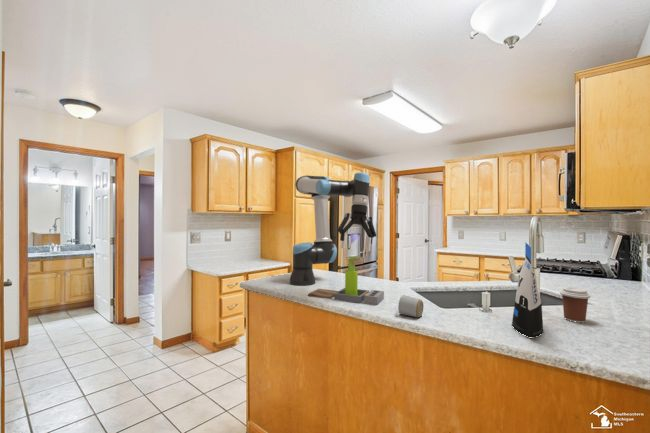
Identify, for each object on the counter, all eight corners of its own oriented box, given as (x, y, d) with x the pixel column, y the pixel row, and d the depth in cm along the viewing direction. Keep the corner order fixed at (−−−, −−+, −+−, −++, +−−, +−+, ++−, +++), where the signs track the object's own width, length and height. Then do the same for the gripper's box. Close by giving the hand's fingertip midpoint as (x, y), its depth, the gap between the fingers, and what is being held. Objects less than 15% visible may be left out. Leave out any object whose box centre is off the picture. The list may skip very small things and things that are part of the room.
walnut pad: (319, 290, 162) (319, 288, 162) (339, 293, 156) (339, 291, 156) (308, 295, 151) (308, 293, 151) (330, 298, 146) (330, 296, 146)
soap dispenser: (356, 300, 143) (356, 258, 143) (343, 298, 146) (343, 257, 146) (361, 297, 148) (361, 256, 148) (348, 295, 151) (348, 255, 151)
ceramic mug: (417, 320, 117) (418, 300, 117) (397, 315, 122) (398, 296, 122) (426, 313, 125) (427, 294, 125) (407, 309, 130) (407, 291, 130)
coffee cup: (594, 321, 116) (594, 290, 116) (583, 325, 112) (584, 293, 112) (566, 314, 124) (566, 285, 124) (555, 318, 120) (555, 287, 120)
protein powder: (539, 320, 118) (540, 242, 118) (547, 342, 97) (548, 248, 97) (510, 316, 123) (511, 241, 122) (512, 336, 102) (513, 246, 101)
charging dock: (344, 293, 156) (344, 285, 156) (384, 298, 147) (384, 290, 147) (334, 299, 144) (334, 291, 144) (376, 305, 135) (376, 296, 135)
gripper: (340, 199, 137) (335, 247, 134) (385, 208, 147) (382, 252, 144) (332, 201, 144) (328, 246, 141) (376, 209, 154) (373, 251, 151)
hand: (355, 249), depth 143 cm, fingers open, 13 cm apart
